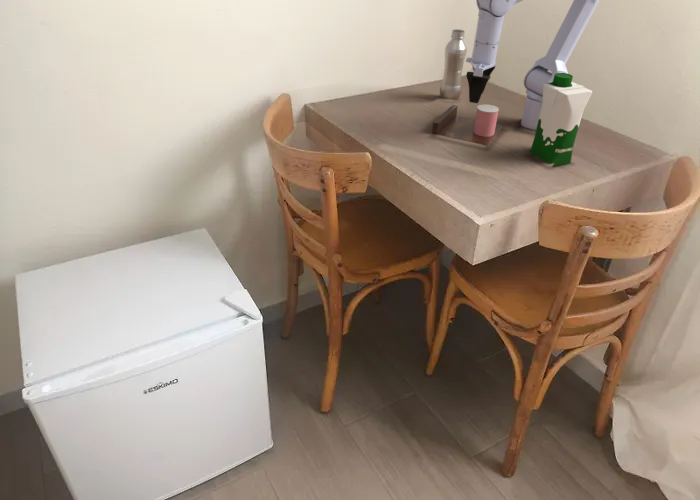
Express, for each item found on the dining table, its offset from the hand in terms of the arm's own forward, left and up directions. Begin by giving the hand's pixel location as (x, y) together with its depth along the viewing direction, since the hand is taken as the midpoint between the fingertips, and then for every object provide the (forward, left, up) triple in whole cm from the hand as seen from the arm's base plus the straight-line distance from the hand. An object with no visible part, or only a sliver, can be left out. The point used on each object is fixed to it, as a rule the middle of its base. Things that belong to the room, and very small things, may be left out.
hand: (476, 97), depth 136 cm
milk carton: (-21, +3, -11) cm, 24 cm away
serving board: (+1, -2, -11) cm, 11 cm away
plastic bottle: (+15, -25, -11) cm, 31 cm away
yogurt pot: (-3, -2, -10) cm, 10 cm away
